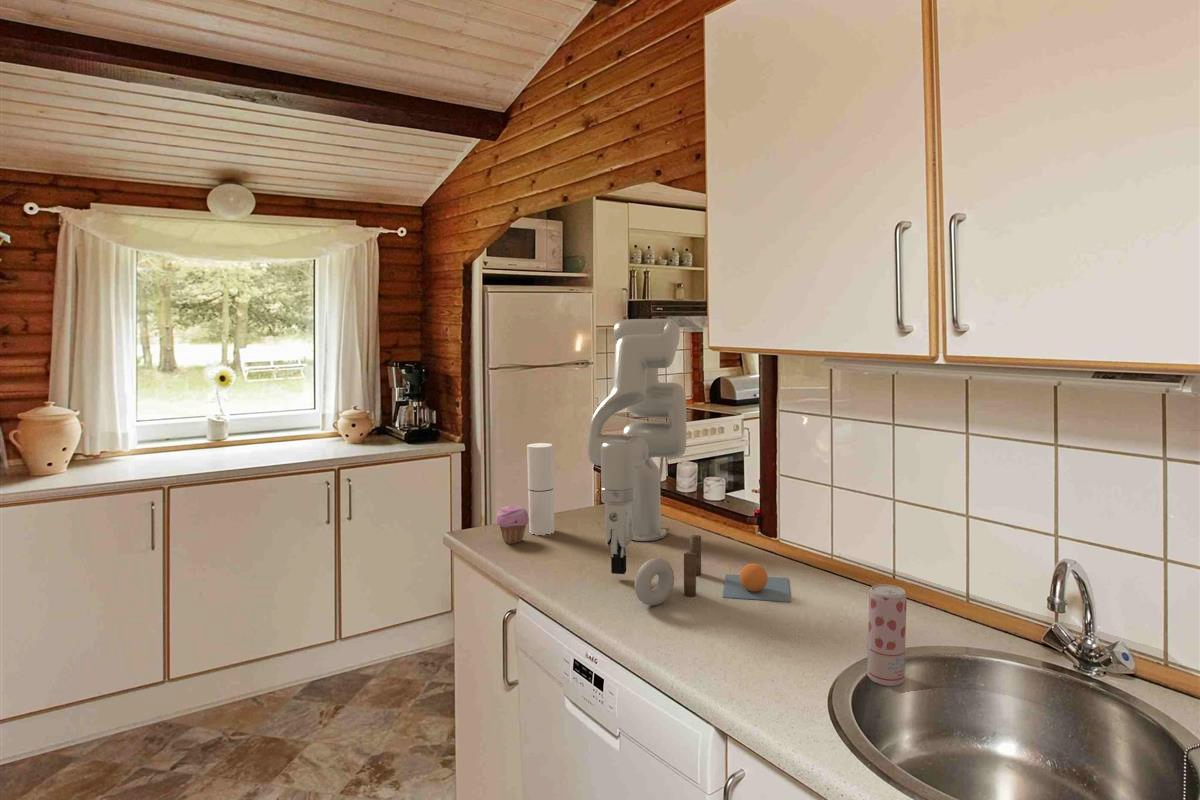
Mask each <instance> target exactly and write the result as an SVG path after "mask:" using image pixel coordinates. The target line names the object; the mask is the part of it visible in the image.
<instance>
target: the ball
mask: <svg viewBox="0 0 1200 800" xmlns="http://www.w3.org/2000/svg"><path fill="white" fill-rule="evenodd" d="M739 575H740V582H741V584H742V586H743V587H744V588H745V589H747V590H748V591H751V592H757V591H760V590H762V589H763V588H764V587H765V586H766V584H767V580H768V577H769V576H768V573H767V571H766V569H765V568H764V567H763V566H761V565H760V564H758V563H747V564H746V565H744V566H743V567H742V569H740V572H739Z"/></svg>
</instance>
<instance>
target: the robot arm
mask: <svg viewBox="0 0 1200 800" xmlns="http://www.w3.org/2000/svg"><path fill="white" fill-rule="evenodd" d="M680 335H681V334H680V328H679V324H678V323H677V321H676V320H674V319H672V318H634V319H633V318H630V319H624V320H619V321H618V322H616V323H615V324H614V327H613V337H614V342H615V346H614V356H613V357H614V358H613V369H612V380H611V388H610V389H611V391H610V393H609V395H608V396H606V398H605V399H603V401H602V402H601V403H600V404H599V405H598V406H597V408H596V409H595V412H594V413H593V415H592V417H591V419H590V425H589V430H588V440H587V456H588V459H589V461H590V463H592V464H593V465H594V466H600V478H601V479H600V481H601V482H600V483H601V484H600V485H601V487H600V488H601V489H600V494H601V503H603V504H605V511H604V513H605V514H604V515H605V516H604V530H605V531H604V535H605V536H604V537H605V538H604V539H605V540H604V541H605V545H606V546H607V548H609V547H610V556H611V557H610V564H611V565H610V568H611V569H610V570H611V572H610V573H611V574H613V575H625V574H626V572H627V555H626V553H627V547H628V546H629V545H630V543H631V542H632V541H638V542H651V541H657V540H661V539H663V538H666V536H667V529H666V528H664V527H662V526H661V524H662V521H661V518H662V516H661V513H662V512H661V472H660V469H659V467H658V466H657V463H656V462H655V461H654V460H653V459H652V458H672V459H673V458H674V459H675V458H681V457H682V456H683V455H684V454H685V453H686V449H687V398H686V397H687V396H686V391H685V389H684V387H683V386H682V385H681V384H680V383H676V382H660V381H659V369H667V368H669V367H670V366H671V365H672V364H673V362H674V359H675V355H676V352H677V349H678V347H679V344H680V343H679V342H680ZM625 409H628V410H627V411H628V412H629V414H630V415H631V416H633V417H638V418H664V419H665V418H666V419H667V420H668V421H669V422H658V421H657V422H655V421H637V422H636V421H635V422H632V423H629V424H627V425H626V426H624V428H623V430H622V434H610V433H609V434H608V433H607V434H603V430H604V426H605V424H606V423H607V421H608V420H609V419H610V418H612V416H614V415H615V414H618V413H619V412H621V411H623V410H625Z"/></svg>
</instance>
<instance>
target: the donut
mask: <svg viewBox="0 0 1200 800" xmlns="http://www.w3.org/2000/svg"><path fill="white" fill-rule="evenodd" d="M656 575H657V577H658V580H657V583H656V585H655V586H654V587H653V588H652V587H651V585H652V580H653V578H654V577H656ZM674 583H675V572H674V569H673V567H672V565H671V564H670V562H668V561H667V560H666V559H664V558H660V557H653V558H651V559H648V560H645V562H644V563H642V564H641V566H640V567H639V569H638V571H637V572H636V575H635V579H634V586H633V587H634V593H635V595H636V597H637V599H638V600H639V601H640V602H641V603H642V604H643V605H646V606H649V607H652V606H658V605H660V604H661V603H664V602H665V600H666V599H667V598H668V597H669V595H671V593H672V590H673V588H674Z"/></svg>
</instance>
